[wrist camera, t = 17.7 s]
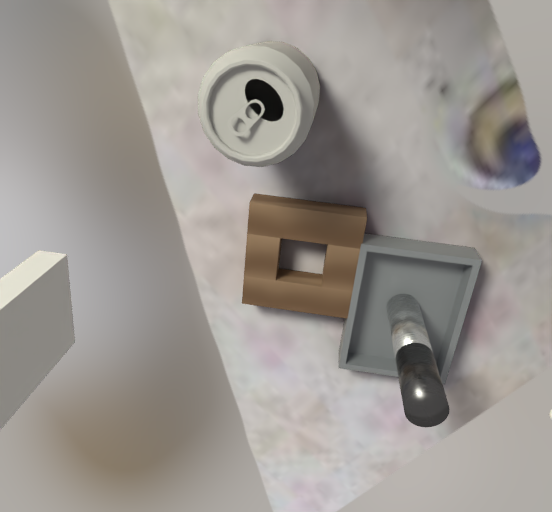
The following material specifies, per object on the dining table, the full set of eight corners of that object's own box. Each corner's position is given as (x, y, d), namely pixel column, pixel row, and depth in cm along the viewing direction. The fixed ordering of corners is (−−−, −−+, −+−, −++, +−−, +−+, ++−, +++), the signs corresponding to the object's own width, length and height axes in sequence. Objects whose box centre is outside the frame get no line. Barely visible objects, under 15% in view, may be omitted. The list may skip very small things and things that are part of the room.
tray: (360, 232, 45) (361, 244, 43) (474, 248, 45) (482, 260, 42) (338, 352, 51) (338, 368, 49) (440, 367, 50) (444, 384, 48)
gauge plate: (254, 193, 45) (249, 202, 43) (365, 208, 44) (367, 217, 42) (246, 290, 49) (242, 303, 47) (348, 305, 49) (348, 318, 46)
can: (339, 94, 41) (338, 119, 30) (271, 154, 43) (248, 197, 32) (278, 18, 39) (253, 16, 28) (211, 86, 42) (165, 107, 31)
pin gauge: (389, 291, 47) (409, 390, 34) (422, 295, 47) (453, 396, 34) (383, 318, 48) (400, 423, 35) (415, 323, 48) (443, 430, 35)
